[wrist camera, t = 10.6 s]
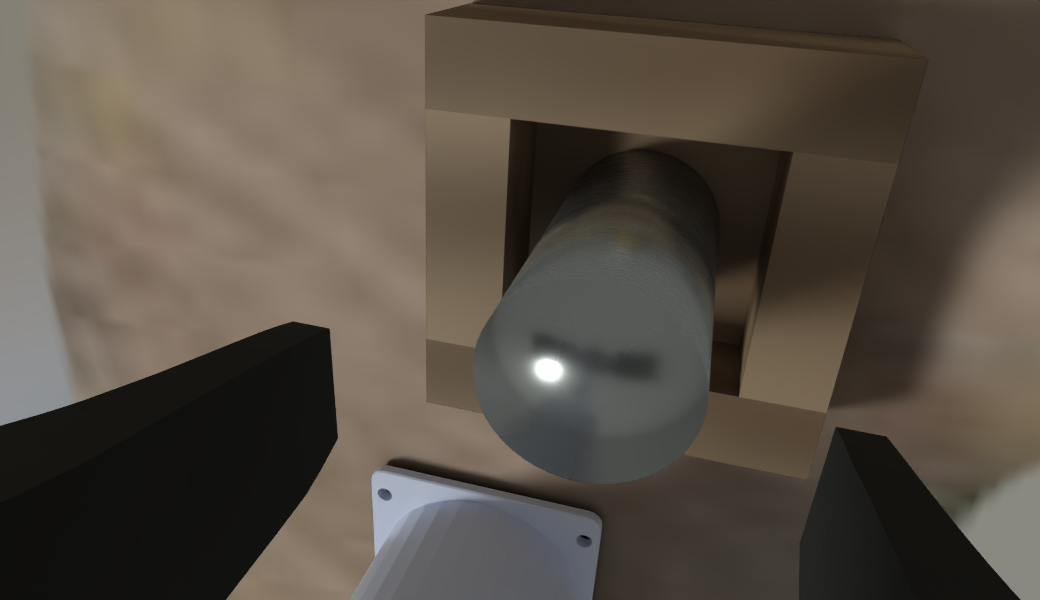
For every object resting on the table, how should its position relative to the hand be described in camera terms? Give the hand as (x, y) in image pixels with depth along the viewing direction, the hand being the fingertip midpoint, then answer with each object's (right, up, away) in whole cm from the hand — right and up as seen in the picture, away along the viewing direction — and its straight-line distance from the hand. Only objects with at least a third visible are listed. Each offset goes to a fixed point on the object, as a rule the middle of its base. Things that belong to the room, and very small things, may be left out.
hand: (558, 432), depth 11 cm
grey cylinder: (+3, +4, +9) cm, 10 cm away
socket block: (+3, +4, +9) cm, 10 cm away
